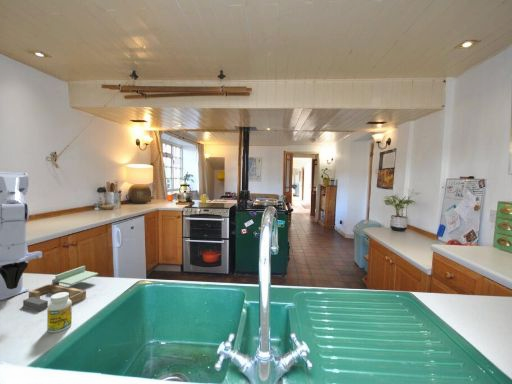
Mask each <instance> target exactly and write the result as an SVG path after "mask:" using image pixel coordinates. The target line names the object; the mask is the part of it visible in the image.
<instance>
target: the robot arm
mask: <svg viewBox="0 0 512 384" xmlns="http://www.w3.org/2000/svg"><path fill="white" fill-rule="evenodd" d="M29 180H30V178H29V174H28V172H25V171H24V172H16V171H15V172H13V171H12V172H11V171H0V301H4V300H6V299H8V298H12V297H14V296H17V295H20V294H22V293H26V292H29V291H30V289H29V288H26V287H23V286H24V285H23V283H24V282H23V281H24V280H23V279H24V277H23V275H24V272H25V270H26V269H27V268H28V265H29V261H31V260H35V259H42V258H43V251H40V250H38V251H37V250H36V251H32V252H29V250H28V249H29V248H28V245H27V222H28V220H29V213H30V210H29V204H28V203H27V202H26V201H25V196H26V195H27V192H28V188H29Z"/></svg>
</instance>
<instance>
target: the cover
mask: <svg viewBox="0 0 512 384" xmlns="http://www.w3.org/2000/svg"><path fill="white" fill-rule="evenodd" d="M96 276H99V273H98V272H95V271H88V270H86V265H82V266H78V267H77V268H73V269H70V270H67V271H64V272H61V273H59V274H56V275H55V278H53V279H52V281H51V283H52V284H53V283H59V284H63V285H66V286H67V285H68V286H73V285H76V284H79V283H81V282H84V281H85V280H89V279H91V278H93V277H96Z"/></svg>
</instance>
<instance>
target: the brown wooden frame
mask: <svg viewBox="0 0 512 384" xmlns="http://www.w3.org/2000/svg"><path fill="white" fill-rule="evenodd" d="M49 291H50V293H54V292H55V293H54V294H56V293H60V292H68V293H69V298H68V299H70V300H71V301H72V305H73V304H75V303H78V302H80V301H82V300H84V299H86V298H87V290H83V289H79V288H75V287H70V286H67V285H61V284H60V283H52V282H51V283H48V284H46V285H42V286H40V287H37V288H34V289H32V290H28V298H30V297H34V298H38V299H41V295H44V294H46V293H48V292H49ZM45 292H46V293H45ZM40 294H41V295H40Z"/></svg>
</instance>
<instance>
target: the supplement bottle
mask: <svg viewBox="0 0 512 384" xmlns="http://www.w3.org/2000/svg"><path fill="white" fill-rule="evenodd" d="M69 297H70V296H69V293H68V292H60V293H54V294H52V295H51V296H50V303H49V304H48V308H46V309H47V311H46V312H47V317H46V318H47V319H46V321H47V322H46V323H47V324H46V326H47V327H46V329H47V332H48V333H52V334H55V333H60V332H64V331H65V330H68V329H69V328H70V327H71V325H72V317H73V316H72V315H73V313H72V312H73V310H72V309H73V304H72V301H71V300H70V299H68V298H69Z"/></svg>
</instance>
